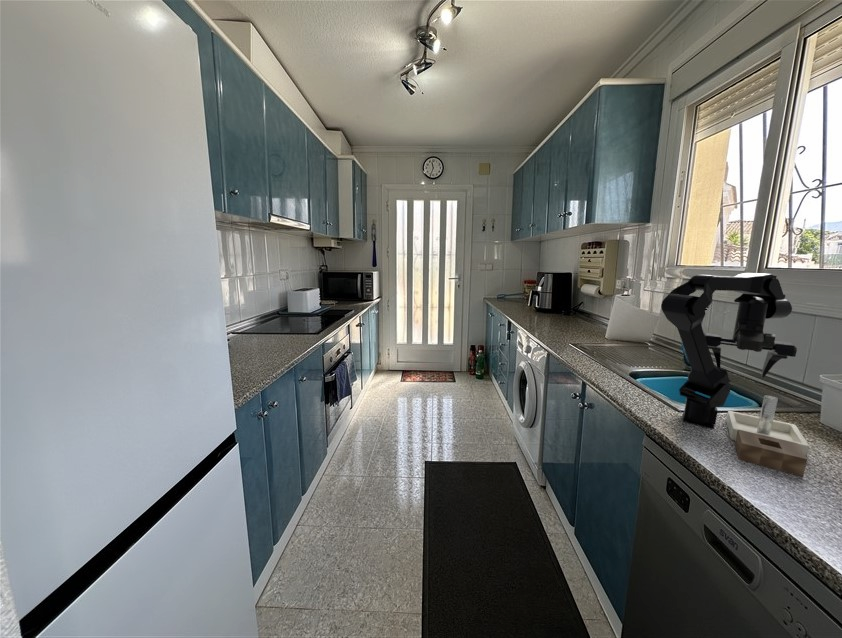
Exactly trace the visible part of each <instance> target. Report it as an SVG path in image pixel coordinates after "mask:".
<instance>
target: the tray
mask: <svg viewBox="0 0 842 638" xmlns="http://www.w3.org/2000/svg"><path fill="white" fill-rule="evenodd" d="M759 418H760V416H756V415H751V414H747V413H742V412H737V411H731V410H727V415H726V420H725V421H726V425H727V429H728V433H729V437H730V440H732V441H736V436H737V431H738V429H739V430H743V431H747V432H752V433H756V434H760V435H764V436H769V437H773V438H777V439H782V440H786V441H790V442H794V443H798V445H799V447H800V448H801V450H802V452H803V453H804V455H805V457H806V458H807V459H808V455H809V454H808V453H809V450H810V445H809V443H808V442H807V440H806V439H805V437H804V436H803V434H802V433H801V431H800V430H799V428H798V427H797V425H796V424H793V423H788V422H786V421H779V420H775V419H773V423H772V427H771V431H770V435H765V434H761V433H757V432H756V431H757V427H758V422H759Z"/></svg>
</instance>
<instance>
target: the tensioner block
mask: <svg viewBox="0 0 842 638" xmlns="http://www.w3.org/2000/svg"><path fill="white" fill-rule="evenodd" d="M734 441H735V440H734ZM734 446H735V449H736V454H737V457H738V460H740V461H743V462H747V463H751V464H755V465H758V466H762V467H766V468H770V469H773V470H776V471H780V472H785V473H788V474H791V475H796V476H799V477H802V478H803V477H804V475H805V471H806V466H807V462H808V457H807V458H806V457H805V455H804V453H803V452H802V450H801V448H800V447H799V445H798V443H794V442H790V441H786V440H782V439H777V438H773V437H769V436H764V435H760V434H756V433H752V432H747V431H743V430H739V429H738V431H737V436H736V441H735V442H734Z"/></svg>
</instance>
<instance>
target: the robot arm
mask: <svg viewBox="0 0 842 638" xmlns="http://www.w3.org/2000/svg"><path fill="white" fill-rule="evenodd" d="M697 291H701V292H702V291H703V292H702V293H701V295H699V296H696V295H691V294H693V293H695V292H697ZM716 291H729V292H730V291H732V292H736V293H738V294H739V293H740V294H741V295H739V296H738V297H736V298H735V299H734V303H738V308H737V312H736V318H735V323H734V329H733V334H732V338H728V337H722V336H721V334H718V333H710V332H709V333H707V332H704V329H703V327H702V321H703V320H704V318H705V316H706V309H708V308H709V306H710V305H711V304H712V303H713V295H714V293H715V292H716ZM660 306H661V311H662V314H664V317H665V318H666V319H667V321H669V322H670V323H671V324H672V325H674V326H675V327H676V329H677V331H678V333H679V337H680V339H681V343H682V345H683V348H684V351H685V354H686V357H687V359H688V362H689V365H690V367H691V370H690V371H689V373H688V374H687V381H686V382H684V384H683V385H682V386H681V387H679V389H678V391H679V392H678V393H679V395H680V396H681V397H684V398H685V404H684V410H683V413H682V423H683V422H684V423H687V424H692V425H695V426H701V427H704V428H708V429H714V425H716V423H717V416H718V411H719V410H718V408H720V407H724V406H725V403H726V401H727V399H728V397H729V394H730V392H731V385H730V384H731V382H732V381H731V380H730V378H729V373H728V371H727V369H725V368H721V364H722V363H721V357H722V355H721V354H722V353H721V351H722V347H721V345H725V346H726V345H727V346H731V347H732V346H733V347H736V348H737V349H738V350H741V351H745V350H746V351H754V352H756V353H759V352H760V353H761V352H762V351H763V350H767V354H766V356H765V360H764V362H763V366H762V370H761V375H760V376H761V378H765V376H766V375H767V374H768V373H769V371H770V370H771V369H772V368H773V367H774V365H775V364H777V362H779V361H780V360H782V359H783V360H787V359H788V357H792V358H793V357H794V358H795V357H796V355H797V350H798V348H797V347H796V345H794V344H793V343H791V342H788V341H780V340H776V333H767V332H765V333H764V328H765V322H766V320H769V319H783V318H786V317H788V316H789V315H791V313H792V311H793V307H792V304H791V302H790V301H789V300H788V299H786V294H784V292H783V289H782V286H781V283H780V281H779V279H778V278H777V275H776V274H774V273H761V272H760V273H759V272H744V273H739V274H737V275H734V276H729V275H728V276H727V275H723V276H722V275H713V274H712V275H711V274H695V275H693V276H692V277H691V278H690V279H689V280H688V281H686V282H684V283H682V284H681V285H679V286H677V287H675V288H673V289H672V290H671V291H670V293H668V294H667V295H666V297H664V298H663V300H662V301H661V305H660ZM711 350H712V353H713V355H714V358H715V359H714V360H715V364H716V365H715V364H714V360H713V357H712V355H711ZM696 392H697V393H696ZM702 394H703V395H702Z"/></svg>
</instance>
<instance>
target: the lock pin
mask: <svg viewBox="0 0 842 638" xmlns="http://www.w3.org/2000/svg"><path fill="white" fill-rule="evenodd" d="M778 400H779V398H778V397H775V396H773V395H767V394H766V395H763V401H762V405H761V409H760V414H759V417H760V418H759V422H758V427H757V431H756V432H757V433H761V434H765V435H770V431H771V427H772V423H773V420H774V418H775V413H776V409H777V405H778Z"/></svg>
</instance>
